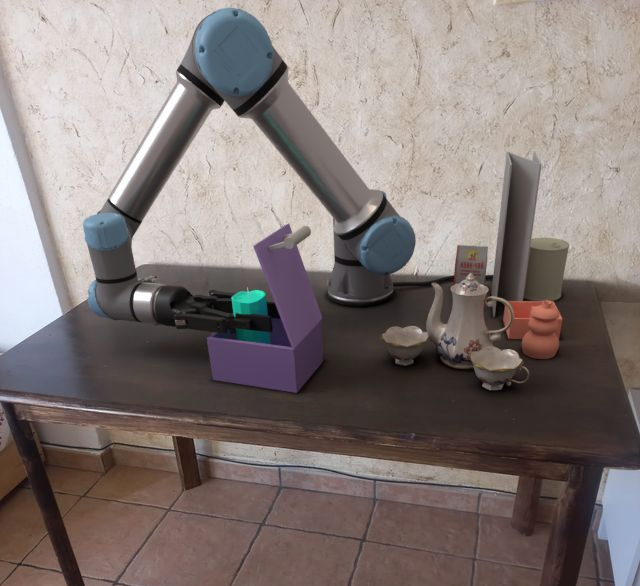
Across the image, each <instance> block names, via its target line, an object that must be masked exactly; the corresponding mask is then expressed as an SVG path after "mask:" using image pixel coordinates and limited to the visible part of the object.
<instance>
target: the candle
mask: <svg viewBox="0 0 640 586" xmlns="http://www.w3.org/2000/svg"><path fill="white" fill-rule="evenodd" d="M246 290H247V291H242V290H241V291H238V292H236V293H237V294H235V295H234V296H232V297H231V299H232V307H233V313H232V314H233V315H234V317H236V316H235V314H236V313H239V314H257V315H266V316H268V311H267V302H268V301H267V294H266V292H265V291H263V290H260V289H254V290H250V291H249V287H248V286H247V287H246ZM236 337H237V340H240V341H248V342H256V343H263V344H271V342H270V332H263V331H254V330H246V329H238V328H236Z"/></svg>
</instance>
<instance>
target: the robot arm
mask: <svg viewBox="0 0 640 586" xmlns="http://www.w3.org/2000/svg"><path fill="white" fill-rule="evenodd" d="M175 76H176V83H175V84H174V86H173V87H172V89H171V91H170V92H169V94H168V96H167V98H166V100H165V101H164V103H163V104H162V106H161V107H160V109H159V111H158V113H157V115H156V116H155V117H154V120H153V121H152V123H151V124H150V127H148V129H147V132H146V133H145V135H144V137H143V138H142V140H141V141H140V143H139V145H138V146H137V148H136V150H135V151H134V153H133V155H132V157H131V159H130V160H129V162H128V164H127V165H126V167H125V168H124V170H123V171H122V174H121V175H120V177H119V179H118V180H117V182H116V184H115V185H114V187H113V189H112V190H111V192H110V193H109V195H108V198H107V200H106V201H105V202H104V204H103V205H102V207H101V209H100V210H99V211H97V213H96V214H92V215H90V216H88V217H86V218H85V219H84V220H83V221H82V228H83V232H84V233H83V234H84V241H85V243H86V246H87V250H88V254H89V257H90V260H91V264H92V268H93V273H94V277H95V279H94V280H93V281H92V282H91V283H90V284H89V286H88V289H87V293H88V297H86V298H87V299H86V300H87V304H88V307H89V309H90V310H91V312H92V313H93V314H95V316H98V317H99V318H105V319H109V320H112V321H127V322H137V323H144V324H151V325H154V326H156V327H157V326H158V325H159V326H160V325H161V326H166V327H173V328H175V329H176V330H193V331H201V332H208V333H214V332H215V333H223V334H225V333H227V329H229V330H230V334H234V333H236V328H238V329H246V330H254V331H263V332H272V331H273V329H272V319H271V318H276V319H281V317H280V315H279V312H278V310H277V307H276V304H275V302H274V301H267V311H268V316H266V315H257V314H239V313H236V314H235V316H236V317H234V314H233V307H232V299H231V297H232V296H234V295H235V294H237V293H238V292H227V291H219V290H215V289H209V290H208V295H203V294H194V295H193V294H192V292H190V291H189V289H188V288H186V287H185V286H182V285H173V284H164V283H155V282H154V283H143V282H139V281H138V278H139V277H138V272H137V269H136V263H135V259H134V258H135V257H134V254H133V248H132V247H133V246H132V245H133V238H134V236H135V234H136V233H137V231H138V230H139V228H140V226H141V225H142V223H143V221H144V219H145V217H146V216H147V214H148V213H149V211H150V210H151V208H152V207H153V205H154V203H155V202H156V200H157V198H158V197H159V195H160V193H161V192H162V191H163V189H164V187H165V185H166V184H167V183H168V181H169V180H170V178H171V176H172V174H173V173H174V171H175V170H176V169H177V167H178V165H179V163H180V162H181V160H182V159H183V157H184V155H185V154H186V152H187V151H188V150H189V147H190V146H191V144H192V143H193V142H194V140H195V138H196V136H197V135H198V133H199V132H200V130H201V129H202V127H203V126H204V124H205V122H206V121H207V119H208V118H209V116H210V115H211V113H212V111H213V110H217V109H221V107H222V106H223V105H224V102H225V103H226V104H227V106H229V108H230V109H231V110H232V111H233V112H234V114H235V115H236V116H237V117H238V118H241V119H250V120H252V122H253V123H254V124H255V125H256V126H257V127H258V128H259V130H260V131H261V132H262V133H263V135H264V136H265V137H266V138H267V139H268V141H269V142H270V143H271V144H272V145H273V147H274V148H275V149H276V150H277V151H278V153H279V154H280V155H281V156H282V158H283V159H284V160H285V161H286V163H288V164H289V166H290V167H291V168H292V170H293V171H294V173H296V174H297V176H298V177H299V178H300V179H301V181H302V182H303V183H304V184H305V186H306V187H307V188H308V189H309V190H310V191H311V193H312V194H313V195H314V196H315V198H316V199H317V200H318V201H319V202H320V204H321V205H322V206H323V208H324V209H325V210H326V211H327V212H328V213H329V214H330V216H331V217H332V225H333V226H332V227H333V228H332V229H333V230H332V231H333V250H334V251H333V255H334V264H333V267H332V271H331V274H330V278H329V280H328V279H326V284H327V297H328V299H329V300H330V301H332V302H334V303H336V304H338V305H342V306H348V307H370V306H376V305H380V304H383V303H386V302H387V301H389V300H391V299H392V298H393V296H394V288H395V287H396V288H397V287H427V286H432V283H437V284H440V283H444V282H448V281H454V274H453V275H447V276H444V277H440V278H437V279H432V280H428V281H397V282H395V281H394V282H393V280H392V277H391V275H392V274H394V273H397V272H399V271H400V270H402V269H404V267H405V266H406V265H407V264H408V263H409V262H410V260H411V258H413V257H412V256H413V254H414V252H415V248H416V243H417V241H416V240H417V238H416V233H415V230H414V228H413V227H412V225H411V223H410V222H409V220H407V219H406V218H404V217H403V216H401V215H400V214H399V213H398V212H397V210H396V209H395V207H394V206H393V205H392V204H391V203H390V201H389V200H388V199H387V193H386V192H385V191H383V190H380V189H374V188H373V189H371V188H369V187H368V186H367V184H366V183H365V182H364V180H363V179H362V178H361V176H360V175H359V174H358V172H357V171H356V170H355V169H354V167H353V166H352V165H351V163H350V162H349V161H348V159H347V158H346V156H345V155H344V154H343V152H342V151H341V150H340V148H339V147H338V146H337V145H336V143H335V142H334V141H333V139H332V138H331V137H330V135H329V134H328V132H327V131H326V130H325V128H323V126H322V125H321V124H320V122H319V120H318V119H316V117H315V116H314V114H313V113H312V112H311V110H310V109H309V108H308V107H307V105H306V104H305V102H304V101H303V100H302V99H301V97H300V96H299V94H298V93H297V92H296V91H295V89H294V88H293V87H292V86H291V84H290V83H289V66H288V64H287V63H286V62H285V61H284V60H283V58H282V56H281V55H280V54H279V52H278V51H277V50H276V49H275V47H274V46H273V43H272V40H271V37H270V35H269V34H268V31H267V29H266V28H265V26H264V25H263V24H262V23H261V21H260V20H259V19H257V17H255V16H254V15H253V14H252V13H249V12H248V11H246V10H243V9H241V8H236V7H224V8H220V9H216V10H214V11H213V12H211V13H210V14H207V15H206V16H205V17H203V18H202V19H201V20H200V21H199V23H198V24H197V26H196V27H195V29H194V32H193V34H192V37H191V39H190V42H189V44H188V47H187V49H186V51H185V54H184V56H183V57H182V60H181V62H180V64H179V66H178V67H177V69H176V70H175ZM485 280H493V274H486V277H485Z"/></svg>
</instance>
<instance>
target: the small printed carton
mask: <svg viewBox="0 0 640 586" xmlns="http://www.w3.org/2000/svg"><path fill="white" fill-rule="evenodd" d="M488 253H489V246H485V245H468V244H467V245H465V244H457V247H456V254H455V263H454V273H453V275H454V279H453V285H452V286H454V285H455V284H460V283H461V282H462V281H463V280H466V277H467V276H468V275H469V274H470V273H472V274H473V276H474V277H475V279H474V280H476V281H478V282H479V284H482V285H484V286H486V279H485V277H486V275H487V267H488Z"/></svg>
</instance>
